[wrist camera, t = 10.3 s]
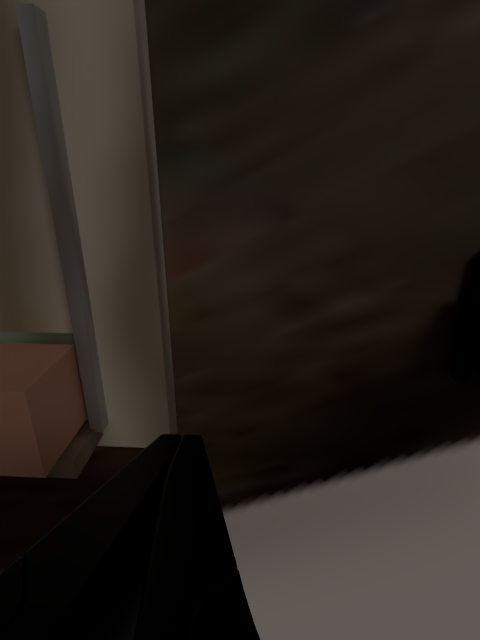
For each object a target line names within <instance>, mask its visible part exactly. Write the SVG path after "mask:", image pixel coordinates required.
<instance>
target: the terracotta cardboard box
mask: <svg viewBox="0 0 480 640" xmlns="http://www.w3.org/2000/svg"><path fill="white" fill-rule="evenodd" d="M86 419H87V412H86V407H85V401H84V395H83V390H82V384H81V378H80V373H79V367H78V361H77V356H76V350H75V345H70V344H26V343H0V476H16V477H39V478H46V476H47V475H48V473H49V472H50V470H51V469H52V468H53V466H54V465H55V463H56V462H57V460H58V459H59V458H60V456H61V455H62V453H63V452H64V450H65V449H66V448H67V446H68V445H69V443H70V442H71V440H72V439H73V438H74V436H75V435H76V433H77V432H78V430H79V429H80V428H81V426H82V425H83V423H84V422H85V420H86Z"/></svg>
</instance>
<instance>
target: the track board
mask: <svg viewBox="0 0 480 640" xmlns="http://www.w3.org/2000/svg"><path fill="white" fill-rule="evenodd" d="M0 343H26V344H70V345H75V350H76V356H77V361H78V367H79V373H80V378H81V384H82V390H83V395H84V401H85V407H86V412H87V419H86V420H85V422H84V423H83V425H82V426H81V428H80V429H79V430H78V432H77V433H76V435H75V436H74V438H73V439H72V440H71V442H70V443H69V445H68V446H67V448H66V449H65V450H64V452H63V453H62V455H61V456H60V458H59V459H58V460H57V462H56V463H55V465H54V466H53V468H52V469H51V470H50V472H49V473H48V475H47V476H46V477H49V478H72V479H77V478H78V476H79V475H80V473H81V471H82V470H83V468H84V466H85V464H86V463H87V461H88V459H89V458H90V456H91V454H92V453H93V451H94V449H95V448H96V446H114V447H140V448H146V447H147V446H148V445H150V444H151V443H152V442H153V441H154V440H155V439H157V438H158V437H159V436H160V435H162V434H176V433H177V419H176V406H175V393H174V380H173V367H172V354H171V341H170V328H169V314H168V301H167V288H166V275H165V262H164V249H163V236H162V223H161V210H160V197H159V184H158V170H157V157H156V144H155V131H154V118H153V105H152V92H151V79H150V66H149V53H148V40H147V26H146V13H145V0H0Z"/></svg>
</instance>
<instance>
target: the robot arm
mask: <svg viewBox="0 0 480 640" xmlns="http://www.w3.org/2000/svg"><path fill="white" fill-rule="evenodd" d="M453 348H454V349H455V354H454V358H453V363H452V367H451V376H452V377H453V378H454V380H455V381H456V382H458V383H459V384H473V385H480V252H479V254H478V255H477V257H476V259H475V264H474V268H473V273H472V277H471V282H470V286H469V291H468V294H467V295H466V296H465V297H464V298H463V301H462V306H461V311H460V315H459V320H458V324H457V329H456V333H455V338H454V342H453ZM465 370H467V372H466V373H465V374H464V375H461V376H460V373H461V372H462V371H465ZM0 640H260V638H259V635H258V633H257V630H256V627H255V625H254V622H253V618H252V615H251V612H250V609H249V606H248V602H247V599H246V596H245V592H244V589H243V585H242V582H241V578H240V574H239V571H238V569H237V564H236V560H235V557H234V553H233V550H232V546H231V542H230V538H229V535H228V531H227V527H226V523H225V520H224V516H223V512H222V509H221V505H220V501H219V498H218V494H217V490H216V486H215V483H214V479H213V475H212V472H211V468H210V464H209V461H208V457H207V453H206V450H205V446H204V442H203V439H202V437H201V436H200V435H183V436H182V437H181V436H180V435H179V434H162V435H160V436H159V437H158V438H157V439H155V440H154V441H153V442H152V443H151V444H150V445H148V446H147V447H146V448H145V449H144V450H143V451H142V452H140V453H139V454H138V455H137V456H136V457H135V458H133V459H132V460H131V461H130V462H129V463H128V464H127V465H125V466H124V467H123V468H122V469H121V470H120V471H118V472H117V473H116V474H115V475H114V476H113V477H112V478H110V479H109V480H108V481H107V482H106V483H105V484H103V485H102V486H101V487H100V488H99V489H98V490H97V491H95V492H94V493H93V494H92V495H91V496H90V497H89V498H87V499H86V500H85V501H84V502H83V503H82V504H80V505H79V506H78V507H77V508H76V509H75V510H74V511H72V512H71V513H70V514H69V515H68V516H67V517H65V518H64V519H63V520H62V521H61V522H60V523H59V524H57V525H56V526H55V527H54V528H53V529H52V530H50V531H49V532H48V533H47V534H46V535H45V536H44V537H42V538H41V539H40V540H39V541H38V542H37V543H35V544H34V545H33V546H32V547H31V548H30V549H29V550H27V551H26V552H25V553H24V558H23V557H19V558H18V559H17V560H16V561H14V562H13V563H12V564H11V565H10V566H9V567H8V568H6V569H5V570H4V571H3V572H2V573H1V574H0Z"/></svg>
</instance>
